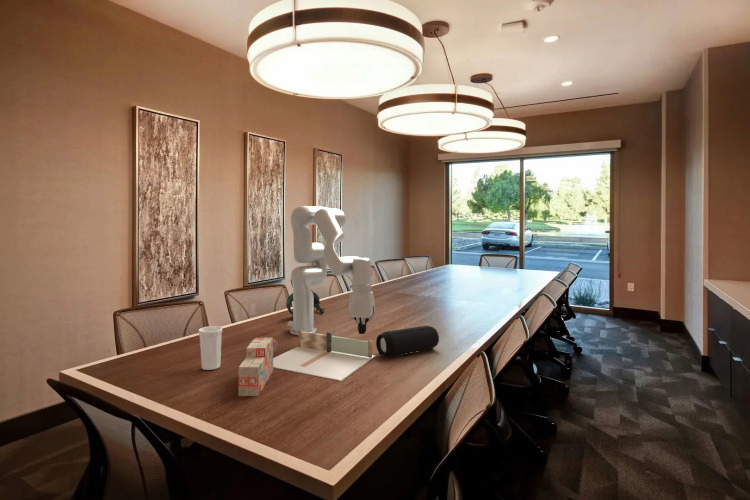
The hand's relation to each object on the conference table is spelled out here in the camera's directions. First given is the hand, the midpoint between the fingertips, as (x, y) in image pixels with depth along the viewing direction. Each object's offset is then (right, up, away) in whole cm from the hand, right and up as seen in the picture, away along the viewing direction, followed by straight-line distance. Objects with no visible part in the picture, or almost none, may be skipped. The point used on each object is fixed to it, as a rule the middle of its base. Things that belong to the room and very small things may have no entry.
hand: (362, 333), depth 167 cm
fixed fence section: (-20, -7, +3) cm, 21 cm away
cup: (-54, -9, -18) cm, 58 cm away
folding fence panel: (-4, -7, -4) cm, 9 cm away
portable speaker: (+19, -9, +2) cm, 21 cm away
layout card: (-16, -9, -9) cm, 20 cm away
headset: (-33, -3, +62) cm, 70 cm away
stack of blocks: (-34, -10, -31) cm, 47 cm away
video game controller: (-39, -8, 0) cm, 40 cm away
